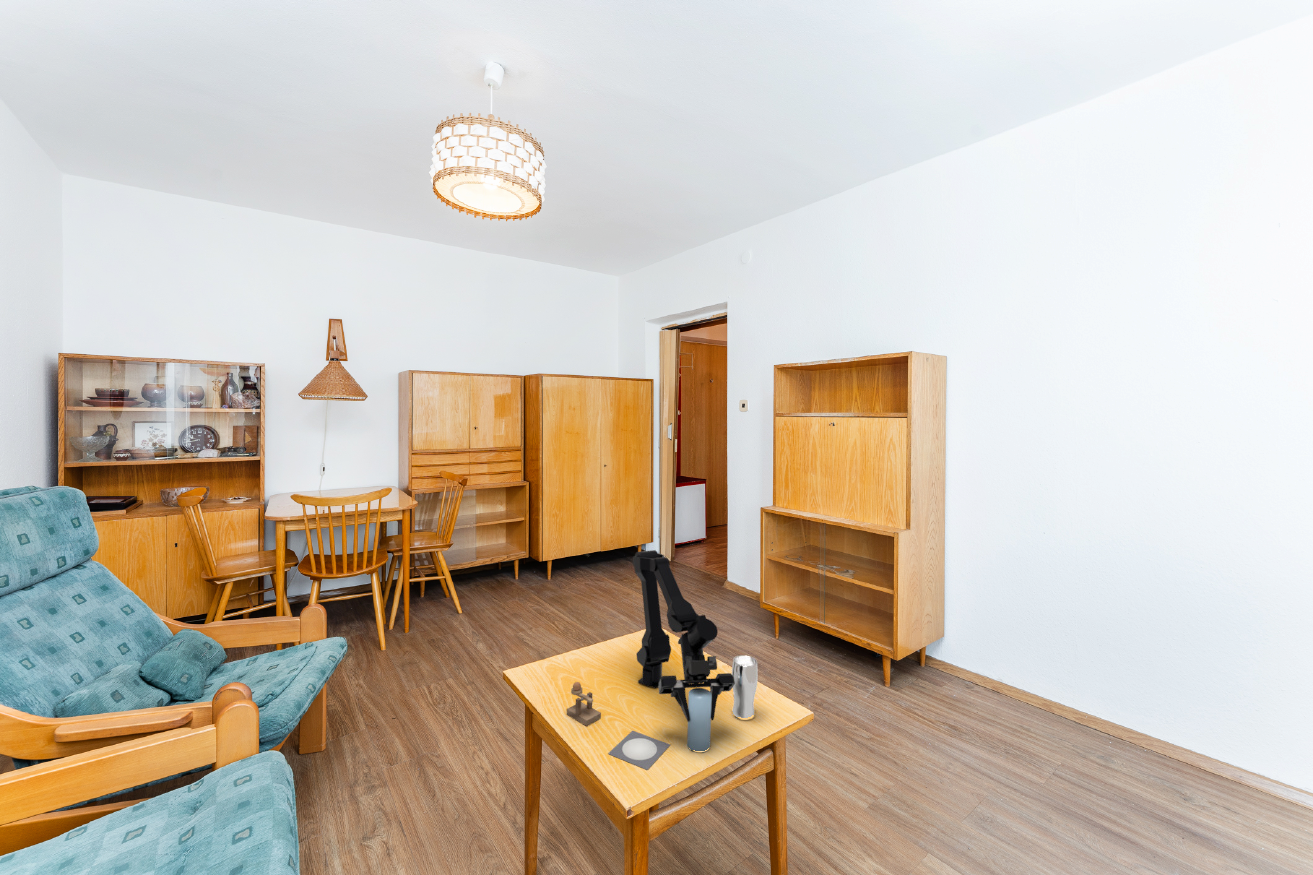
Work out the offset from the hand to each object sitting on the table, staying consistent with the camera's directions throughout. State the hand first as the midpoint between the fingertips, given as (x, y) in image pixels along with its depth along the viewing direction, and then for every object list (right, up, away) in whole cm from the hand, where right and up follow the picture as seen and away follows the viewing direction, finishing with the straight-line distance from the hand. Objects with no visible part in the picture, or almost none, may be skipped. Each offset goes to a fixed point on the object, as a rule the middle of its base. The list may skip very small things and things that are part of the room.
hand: (700, 720), depth 130 cm
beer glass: (+13, -7, +16) cm, 22 cm away
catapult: (-30, -6, +13) cm, 33 cm away
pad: (-15, -7, 0) cm, 16 cm away
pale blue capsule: (0, -7, +2) cm, 7 cm away
